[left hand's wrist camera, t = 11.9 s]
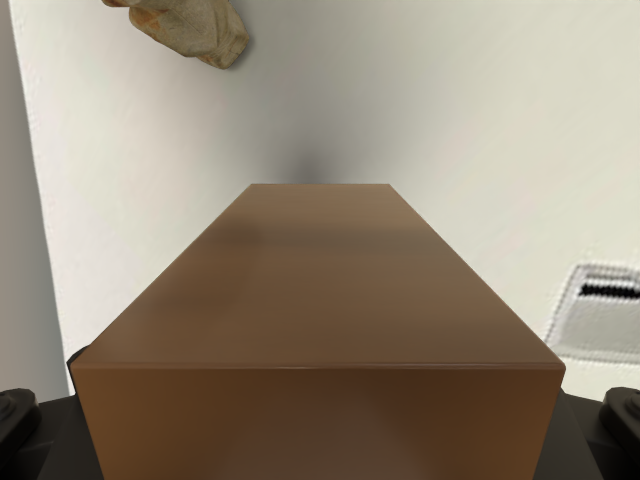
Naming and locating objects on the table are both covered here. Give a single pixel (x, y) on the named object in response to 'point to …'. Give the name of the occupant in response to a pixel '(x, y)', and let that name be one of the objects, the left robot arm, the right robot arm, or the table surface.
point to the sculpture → (191, 27)
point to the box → (318, 353)
